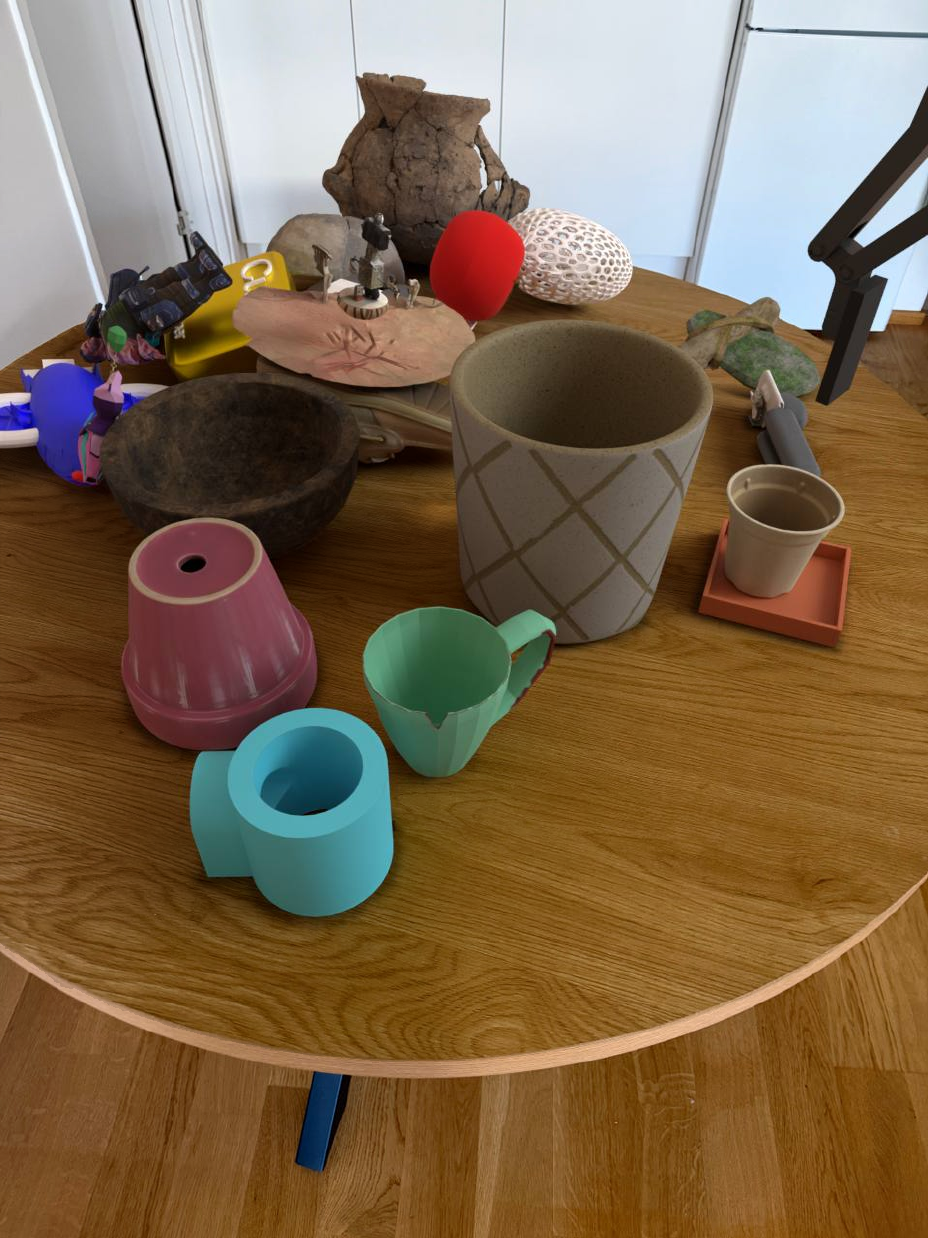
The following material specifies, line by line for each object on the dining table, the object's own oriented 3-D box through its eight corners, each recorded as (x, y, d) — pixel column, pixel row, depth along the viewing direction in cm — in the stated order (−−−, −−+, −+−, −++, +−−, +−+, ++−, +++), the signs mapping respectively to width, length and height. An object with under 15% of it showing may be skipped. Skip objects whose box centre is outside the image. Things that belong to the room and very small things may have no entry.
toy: (160, 293, 85) (133, 436, 93) (115, 278, 84) (91, 425, 91) (142, 345, 73) (111, 507, 80) (88, 330, 72) (62, 495, 79)
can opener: (737, 403, 101) (748, 362, 98) (795, 406, 101) (808, 365, 98) (766, 508, 88) (780, 465, 84) (833, 512, 88) (849, 468, 84)
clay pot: (285, 235, 121) (303, 49, 111) (392, 238, 140) (416, 78, 129) (435, 284, 111) (471, 84, 101) (529, 280, 130) (567, 111, 119)
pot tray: (844, 564, 82) (851, 547, 81) (834, 648, 75) (842, 630, 73) (719, 534, 85) (724, 517, 84) (697, 612, 78) (702, 595, 76)
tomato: (467, 173, 102) (550, 215, 103) (443, 241, 113) (519, 278, 114) (430, 251, 98) (517, 294, 99) (409, 314, 109) (488, 352, 110)
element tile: (175, 315, 109) (156, 282, 105) (293, 276, 109) (279, 241, 105) (184, 399, 101) (164, 367, 97) (312, 356, 101) (297, 322, 97)
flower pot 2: (793, 539, 84) (821, 461, 78) (830, 610, 77) (863, 531, 71) (693, 543, 83) (713, 464, 77) (721, 614, 77) (745, 535, 71)
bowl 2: (413, 227, 121) (407, 291, 124) (280, 208, 120) (277, 272, 123) (408, 221, 104) (400, 295, 107) (253, 198, 103) (249, 273, 106)
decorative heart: (568, 322, 108) (631, 319, 121) (595, 227, 102) (658, 235, 116) (450, 277, 115) (521, 278, 128) (470, 186, 110) (542, 198, 123)
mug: (416, 831, 62) (413, 739, 55) (345, 736, 67) (334, 642, 60) (582, 736, 68) (598, 642, 61) (504, 656, 74) (511, 562, 67)
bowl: (243, 648, 73) (222, 553, 66) (77, 541, 83) (43, 448, 76) (414, 517, 86) (412, 426, 79) (254, 436, 95) (239, 348, 88)
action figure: (214, 265, 88) (72, 381, 90) (256, 315, 93) (121, 424, 95) (172, 194, 101) (49, 296, 103) (211, 241, 106) (93, 338, 108)
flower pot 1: (289, 632, 57) (308, 754, 66) (312, 496, 67) (326, 619, 76) (60, 629, 57) (110, 753, 66) (118, 493, 67) (154, 617, 76)
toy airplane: (-71, 465, 79) (-57, 514, 82) (222, 443, 88) (223, 488, 92) (-66, 342, 95) (-55, 388, 98) (181, 334, 104) (184, 376, 107)
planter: (695, 650, 74) (754, 444, 60) (465, 672, 72) (470, 463, 58) (632, 508, 88) (667, 312, 74) (435, 523, 86) (434, 324, 72)
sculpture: (509, 327, 100) (538, 183, 89) (406, 442, 85) (424, 285, 73) (314, 252, 105) (316, 106, 93) (182, 348, 90) (165, 187, 78)
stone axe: (577, 398, 94) (621, 253, 112) (568, 436, 98) (612, 290, 116) (827, 459, 92) (830, 300, 110) (808, 494, 95) (814, 336, 114)
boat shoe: (510, 399, 93) (492, 470, 97) (279, 336, 94) (272, 409, 98) (496, 427, 85) (478, 503, 89) (246, 359, 86) (239, 436, 91)
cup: (199, 919, 57) (169, 840, 51) (223, 792, 64) (199, 709, 57) (391, 915, 57) (385, 836, 51) (395, 790, 64) (389, 707, 58)
